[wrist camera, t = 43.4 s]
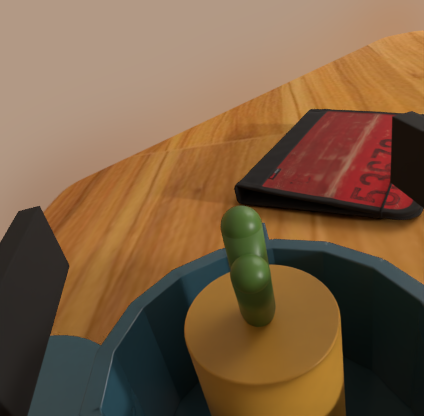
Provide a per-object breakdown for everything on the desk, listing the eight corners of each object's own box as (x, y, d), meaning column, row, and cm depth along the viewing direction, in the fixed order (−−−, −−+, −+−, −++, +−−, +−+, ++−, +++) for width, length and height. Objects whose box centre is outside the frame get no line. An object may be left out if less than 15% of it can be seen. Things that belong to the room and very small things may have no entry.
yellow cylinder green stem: (235, 533, 16) (135, 287, 9) (227, 409, 20) (157, 184, 13) (367, 516, 15) (364, 246, 9) (328, 393, 20) (307, 154, 13)
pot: (101, 882, 10) (-54, 890, 6) (161, 325, 27) (127, 237, 23) (657, 851, 9) (857, 840, 5) (363, 291, 26) (362, 192, 22)
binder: (232, 183, 37) (308, 107, 51) (235, 204, 38) (309, 123, 53) (421, 210, 29) (449, 110, 43) (418, 235, 30) (446, 130, 44)
